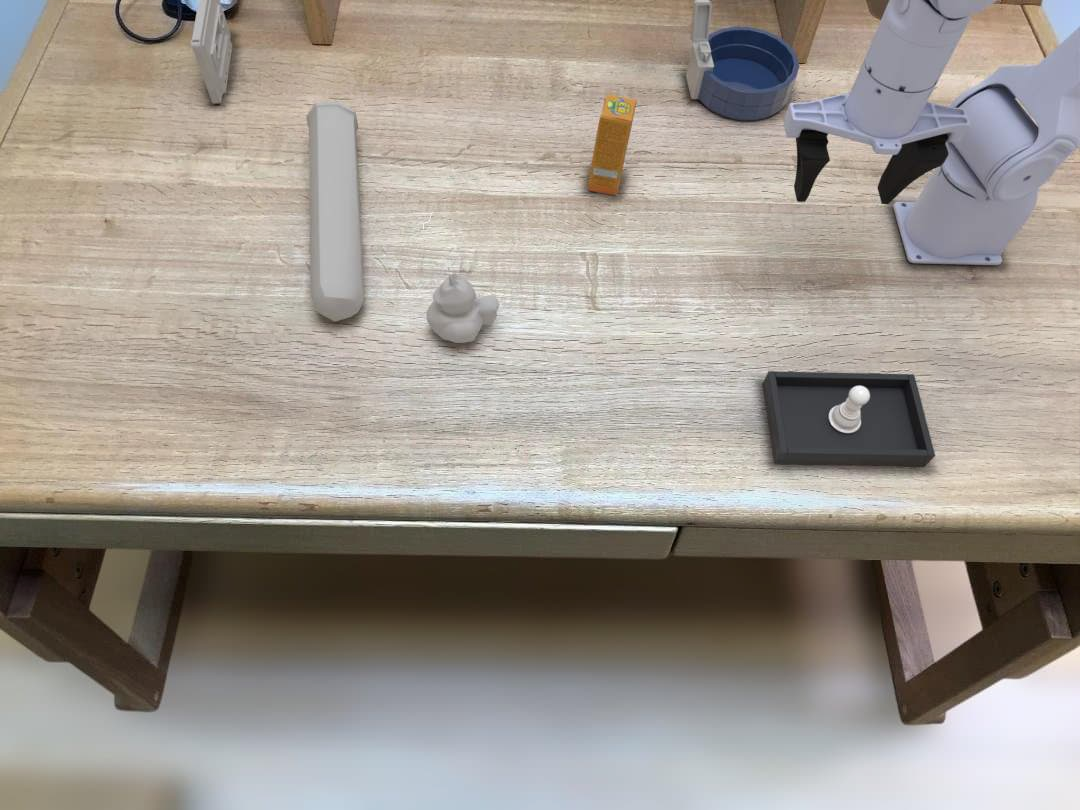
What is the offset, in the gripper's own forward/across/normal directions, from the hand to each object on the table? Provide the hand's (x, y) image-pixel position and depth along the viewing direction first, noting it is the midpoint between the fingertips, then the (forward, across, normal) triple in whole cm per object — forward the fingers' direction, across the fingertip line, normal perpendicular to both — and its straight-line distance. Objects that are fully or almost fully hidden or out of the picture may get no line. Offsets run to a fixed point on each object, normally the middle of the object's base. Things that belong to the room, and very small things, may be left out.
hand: (841, 194), depth 77 cm
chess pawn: (+9, 0, -18) cm, 20 cm away
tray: (+9, 0, -18) cm, 21 cm away
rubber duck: (+10, -34, -9) cm, 36 cm away
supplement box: (+10, -20, +10) cm, 24 cm away
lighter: (+11, -9, +25) cm, 29 cm away
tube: (+10, -47, +3) cm, 48 cm away
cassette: (+10, -63, +26) cm, 69 cm away
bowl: (+9, -4, +26) cm, 27 cm away
